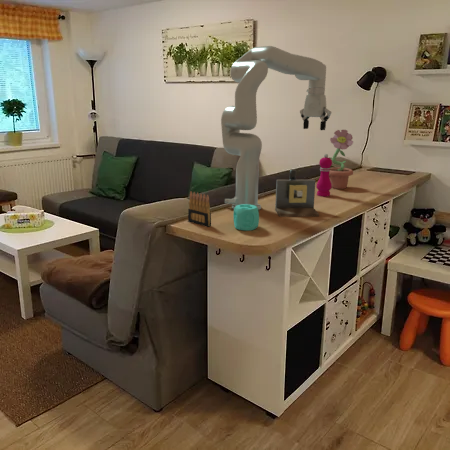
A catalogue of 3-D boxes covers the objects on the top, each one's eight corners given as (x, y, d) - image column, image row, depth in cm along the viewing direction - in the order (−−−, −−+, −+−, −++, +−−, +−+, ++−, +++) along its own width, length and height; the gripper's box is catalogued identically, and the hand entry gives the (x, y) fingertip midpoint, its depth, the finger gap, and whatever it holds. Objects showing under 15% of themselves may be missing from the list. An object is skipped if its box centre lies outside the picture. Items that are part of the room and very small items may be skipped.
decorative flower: (322, 189, 235) (326, 130, 226) (323, 184, 247) (327, 128, 239) (352, 191, 231) (357, 131, 223) (351, 185, 244) (356, 129, 236)
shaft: (296, 196, 182) (297, 176, 180) (288, 187, 198) (289, 169, 196) (303, 196, 182) (304, 176, 180) (294, 187, 199) (295, 169, 196)
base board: (279, 216, 183) (279, 213, 182) (275, 209, 193) (275, 207, 193) (318, 216, 184) (318, 213, 183) (312, 209, 194) (312, 206, 194)
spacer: (289, 202, 186) (290, 185, 184) (288, 201, 187) (289, 185, 185) (306, 202, 186) (307, 185, 184) (305, 201, 188) (306, 184, 186)
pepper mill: (320, 197, 217) (322, 155, 212) (313, 194, 224) (315, 153, 218) (333, 196, 219) (336, 154, 213) (326, 193, 226) (329, 152, 220)
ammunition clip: (211, 226, 169) (211, 194, 166) (207, 227, 168) (207, 195, 165) (191, 220, 176) (191, 190, 173) (188, 221, 175) (187, 191, 172)
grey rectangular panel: (276, 208, 191) (277, 180, 188) (275, 207, 193) (276, 179, 190) (313, 208, 192) (315, 180, 189) (312, 206, 194) (314, 179, 190)
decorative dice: (254, 224, 172) (254, 203, 170) (258, 230, 165) (259, 209, 162) (233, 225, 171) (233, 204, 169) (237, 231, 163) (237, 209, 161)
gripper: (296, 91, 215) (294, 128, 220) (327, 92, 203) (324, 131, 208) (306, 91, 220) (304, 127, 225) (336, 92, 208) (334, 130, 213)
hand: (314, 129), depth 216 cm, fingers open, 9 cm apart
